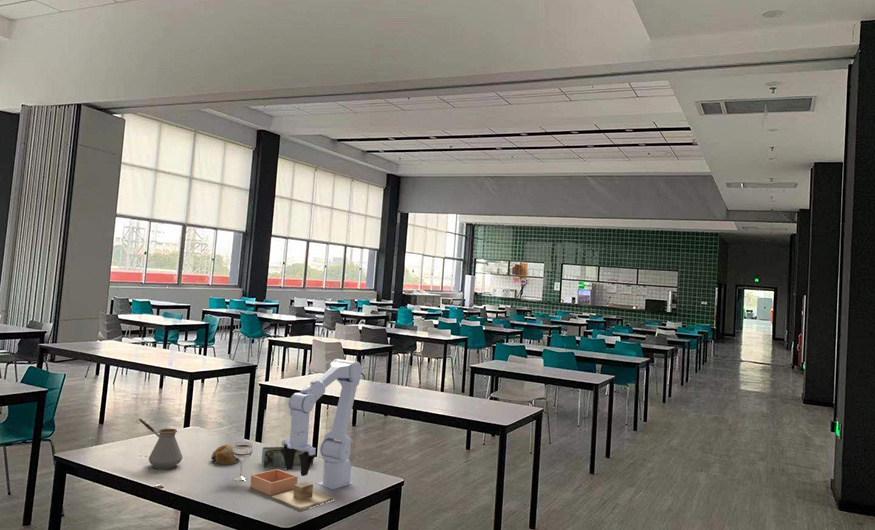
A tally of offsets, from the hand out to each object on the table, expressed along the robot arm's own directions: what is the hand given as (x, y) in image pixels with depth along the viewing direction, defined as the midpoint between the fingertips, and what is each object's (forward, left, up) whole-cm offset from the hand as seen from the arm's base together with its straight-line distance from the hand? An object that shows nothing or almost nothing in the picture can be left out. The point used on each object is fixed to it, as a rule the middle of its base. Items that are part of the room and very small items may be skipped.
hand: (296, 472), depth 206 cm
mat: (-2, +1, -9) cm, 10 cm away
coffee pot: (+13, -64, -10) cm, 66 cm away
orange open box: (-2, -14, -9) cm, 17 cm away
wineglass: (0, -30, -10) cm, 31 cm away
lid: (-2, +1, -9) cm, 9 cm away
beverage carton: (-24, -34, -10) cm, 42 cm away
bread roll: (-8, -51, -10) cm, 52 cm away
